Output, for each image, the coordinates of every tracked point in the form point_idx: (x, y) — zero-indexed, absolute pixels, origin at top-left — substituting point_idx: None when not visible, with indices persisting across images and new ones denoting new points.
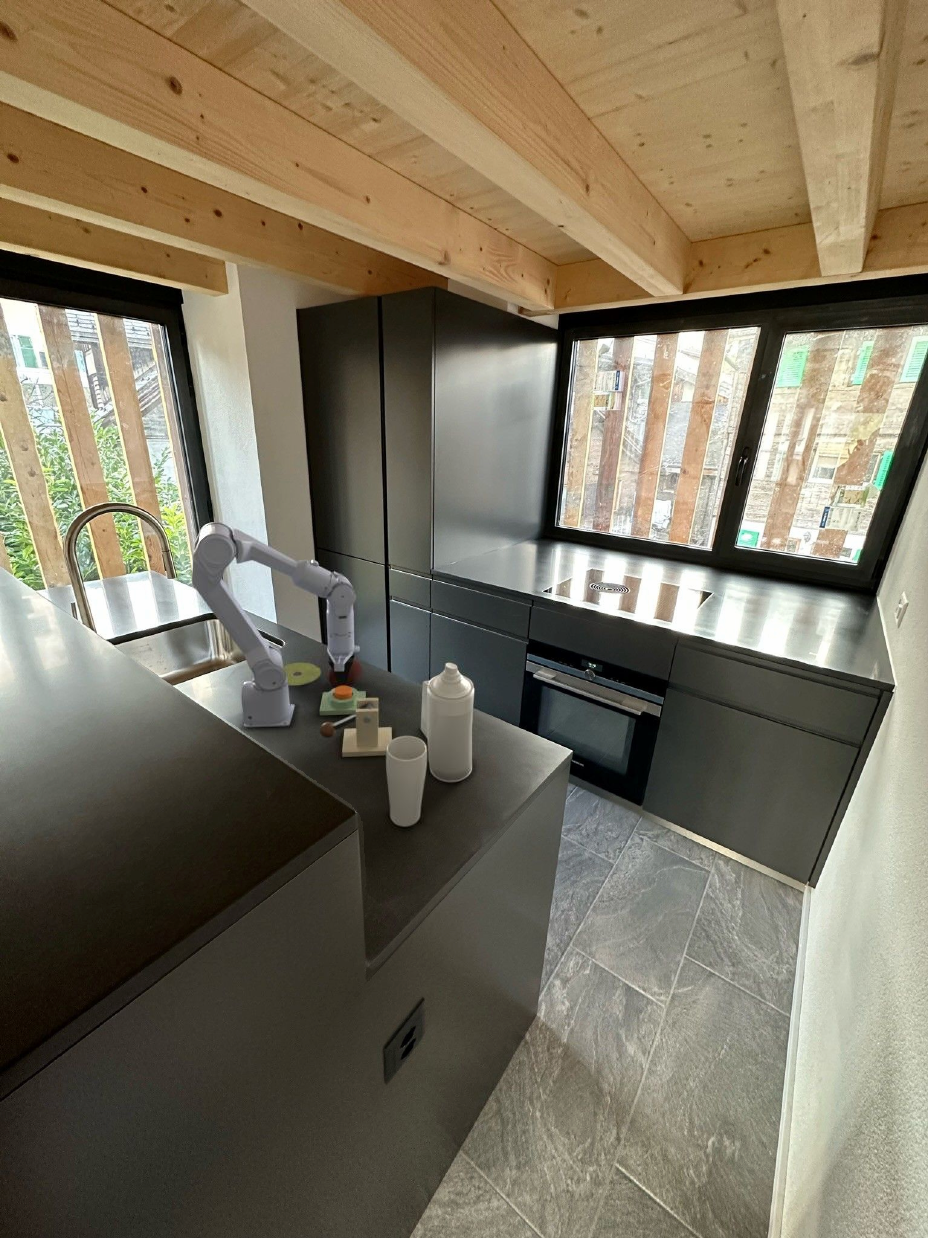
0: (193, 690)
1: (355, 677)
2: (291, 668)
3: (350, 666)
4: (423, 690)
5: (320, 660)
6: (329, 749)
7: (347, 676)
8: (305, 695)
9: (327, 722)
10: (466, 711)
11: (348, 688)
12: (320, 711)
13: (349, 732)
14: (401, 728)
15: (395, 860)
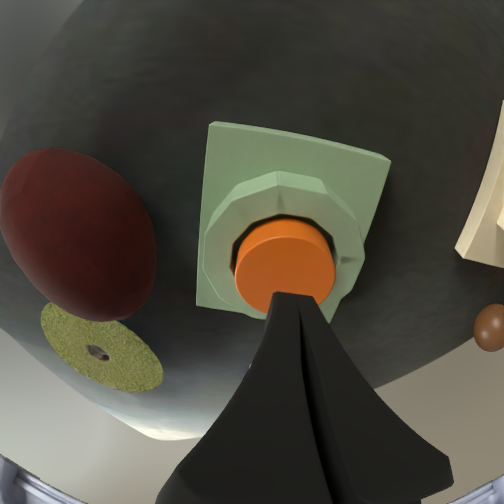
0: (171, 439)
1: (113, 186)
2: (77, 358)
3: (421, 442)
4: None
5: (7, 272)
6: (481, 289)
7: (338, 348)
8: (189, 334)
9: (499, 345)
10: None
11: (277, 253)
12: (330, 319)
13: (484, 247)
14: (495, 58)
15: None
